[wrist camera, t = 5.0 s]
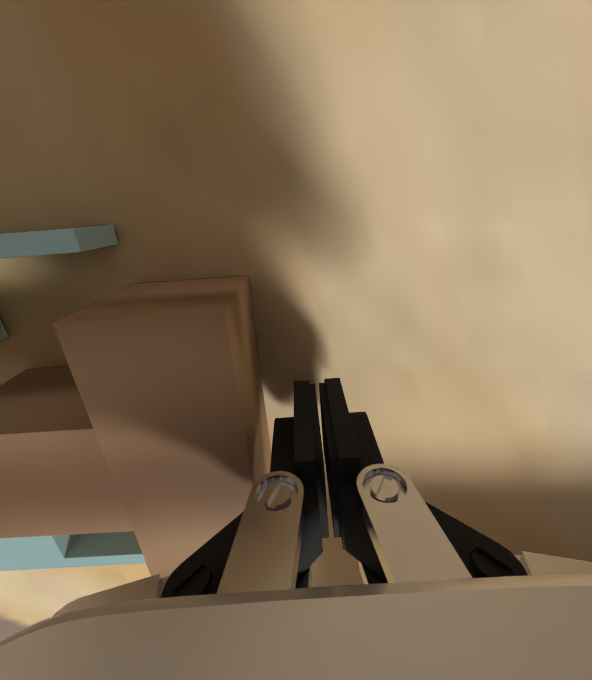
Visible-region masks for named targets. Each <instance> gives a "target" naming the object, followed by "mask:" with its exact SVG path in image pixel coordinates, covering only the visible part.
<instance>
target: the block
mask: <svg viewBox="0 0 592 680" xmlns="http://www.w3.org/2000/svg"><path fill="white" fill-rule="evenodd" d="M52 325H53V327H54V330H55V332H56V335H57V337H58V340H59V343H60V345H61V348H62V350H63V353H64V355H65V358H66V360H67V363H68V365H69V367H57V368H42V369H27V370H25V371H23V372H22V373H20V374H18V375H17V376H15V377H13V378H12V379H10V380H9V381H7V382H5V383H4V384H2V385H0V538H17V537H36V536H54V535H73V534H91V533H110V532H128V531H134V533H135V536H136V538H137V541H138V543H139V546H140V548H141V551H142V553H143V556H144V559H145V561H146V564H147V566H148V569H149V571H150V574H151V576H154V575H157V574H160V575H161V578H164V577H167V576H170V575H171V573H172V572H173V571H174V570H175V569H176V568H177V567H178V566H179V565H180V564H181V563H182V562H183V561H185V560H186V559H187V558H188V557H189V556H191V555H192V554H193V553H194V552H195V551H197V550H198V549H199V548H200V547H201V546H203V545H204V544H205V543H206V542H207V541H209V540H210V539H211V538H212V537H213V536H214V535H216V534H217V533H218V532H219V531H220V530H222V529H223V528H224V527H225V526H226V525H228V524H229V523H230V522H231V521H232V520H234V519H235V518H236V517H237V516H238V515H240V514H241V513H242V512H243V511H244V509H245V506H246V503H247V500H248V497H249V494H250V491H251V489H252V487H253V485H254V483H255V482H256V481H257V480H258V479H259V478H260V477H262V476H264V475H265V474H268V473H270V465H271V451H270V443H269V435H268V427H267V419H266V412H265V404H264V396H263V388H262V380H261V373H260V365H259V357H258V349H257V341H256V334H255V326H254V318H253V310H252V302H251V295H250V287H249V279H248V276H238V277H224V278H210V279H195V280H181V281H167V282H153V283H139V284H132V285H130V286H128V287H126V288H124V289H122V290H120V291H118V292H115V293H113V294H111V295H109V296H107V297H105V298H103V299H101V300H99V301H97V302H95V303H93V304H91V305H89V306H87V307H84V308H82V309H80V310H78V311H76V312H74V313H72V314H70V315H68V316H66V317H64V318H62V319H60V320H58V321H56V322H53V323H52Z"/></svg>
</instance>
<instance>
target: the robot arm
mask: <svg viewBox="0 0 592 680" xmlns="http://www.w3.org/2000/svg"><path fill="white" fill-rule="evenodd" d="M324 382H325V383H319V390H320V405H321V420H322V434H323V448H324V456H325V464H326V473H327V481H328V489H329V497H330V505H331V513H332V521H333V529H334V537H341V538H342V545H343V549H345V550H346V551H347V552H349V553H350V554H351V555H352V556H353V557H355V558H356V559H357V560H358V565H359V570H360V573H361V577H362V580H363V583H364V584H363V585H347V586H331V587H314V588H311V580H312V563H313V562H314V561H315V560H316V559H317V558H318V556H319V555H320V554H321V553H322V552H323V548H322V538H329V531H328V516H327V502H326V487H325V473H324V460H323V450H322V442H321V433H320V425H319V416H318V408H317V399H316V391H315V384H309V380H306V381H294V417H288V418H275V422H274V432H273V443H272V454H271V465H270V473H268V474H265V475H264V476H262V477H260V478H259V479H258V480H257V481H256V482H255V483H254V485H253V487H252V489H251V491H250V494H249V497H248V500H247V503H246V506H245V509H244V511H243V512H242V513H241V514H240V515H238V516H237V517H236V518H235V519H234V520H232V521H231V522H230V523H229V524H228V525H226V526H225V527H224V528H223V529H222V530H220V531H219V532H218V533H217V534H216V535H214V536H213V537H212V538H211V539H210V540H209V541H207V542H206V543H205V544H204V545H203V546H201V547H200V548H199V549H198V550H197V551H195V552H194V553H193V554H192V555H191V556H189V557H188V558H187V559H186V560H185V561H183V562H182V563H181V564H180V565H179V566H178V567H177V568H176V569H175V570H174V571H173V572H172V573H171V575H170V576H167V577H164V578H161V575H160V574H157V575H154V576H151V577H147V578H144V579H141V580H137V581H134V582H131V583H128V584H124V585H121V586H118V587H114V588H111V589H108V590H104V591H101V592H98V593H94V594H91V595H88V596H84V597H81V598H79V599H76V600H74V601H72V602H70V603H68V604H67V605H65V606H64V607H63V608H61V609H60V610H59V611H58V612H56V613H55V614H54V615H53V617H51V618H48V619H46V620H43V621H40V622H37V623H35V624H33V625H31V626H29V627H26V628H24V629H22V630H20V631H18V632H15V633H13V634H11V635H9V636H7V637H5V638H3V639H2V640H0V680H592V562H590V561H583V560H577V559H571V558H564V557H558V556H551V555H545V554H539V553H532V552H526V551H522V553H521V556H520V555H513V554H512V553H511V552H510V551H509V550H507V549H506V548H505V547H503V546H502V545H500V544H499V543H497V542H495V541H493V540H492V539H490V538H488V537H486V536H485V535H483V534H481V533H479V532H478V531H476V530H474V529H472V528H471V527H469V526H467V525H465V524H464V523H462V522H460V521H458V520H456V519H455V518H453V517H451V516H449V515H448V514H446V513H444V512H442V511H441V510H439V509H437V508H435V507H434V506H432V505H430V504H428V503H427V502H425V501H424V500H423V498H422V497H421V495H420V494H419V492H418V490H417V489H416V487H415V486H414V484H413V482H412V481H411V479H410V478H409V477H408V476H407V475H406V473H404V472H403V471H402V470H400V469H399V468H396V467H394V466H391V465H387V464H384V462H383V459H382V457H381V454H380V451H379V448H378V445H377V442H376V440H375V437H374V434H373V431H372V428H371V425H370V423H369V420H368V417H367V414H366V412H353V413H349V412H348V408H347V404H346V400H345V397H344V393H343V389H342V385H341V382H340V378H331V379H325V380H324Z"/></svg>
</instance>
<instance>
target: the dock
mask: <svg viewBox="0 0 592 680" xmlns="http://www.w3.org/2000/svg"><path fill="white" fill-rule="evenodd" d="M116 244H118V241H117V237H116V234H115V230H114V227H113V225H102V226H89V227H77V228H64V229H52V230H39V231H27V232H14V233H2V234H0V258H10V257H22V256H35V255H48V254H61V253H74V252H83V251H88V250H92V249H97V248H102V247H106V246H111V245H116ZM7 337H8V334H7V332H6V330H5V328H4V326H3V324H2V322H1V319H0V341H1V340H3V339H5V338H7ZM138 563H146V561H145V559H144V556H143V553H142V551H141V548H140V546H139V543H138V541H137V538H136V536H135V533H134V531H128V532H110V533H91V534H73V535H54V536H36V537H17V538H0V571H9V570H28V569H46V568H64V567H83V566H101V565H120V564H138Z"/></svg>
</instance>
